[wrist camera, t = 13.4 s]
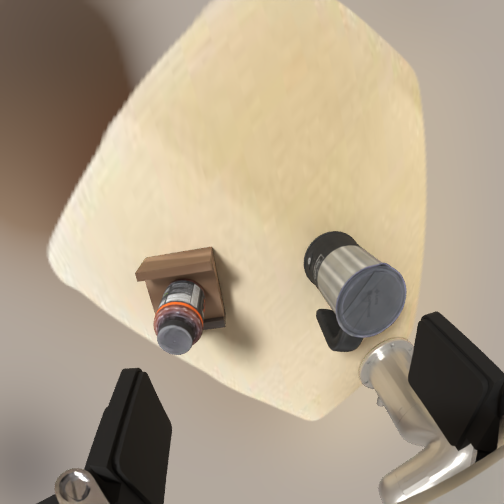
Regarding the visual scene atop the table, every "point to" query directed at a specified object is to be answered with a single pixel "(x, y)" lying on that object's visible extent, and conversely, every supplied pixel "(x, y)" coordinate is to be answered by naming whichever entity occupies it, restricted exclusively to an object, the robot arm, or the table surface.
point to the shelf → (185, 267)
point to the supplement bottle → (180, 316)
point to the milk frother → (352, 290)
